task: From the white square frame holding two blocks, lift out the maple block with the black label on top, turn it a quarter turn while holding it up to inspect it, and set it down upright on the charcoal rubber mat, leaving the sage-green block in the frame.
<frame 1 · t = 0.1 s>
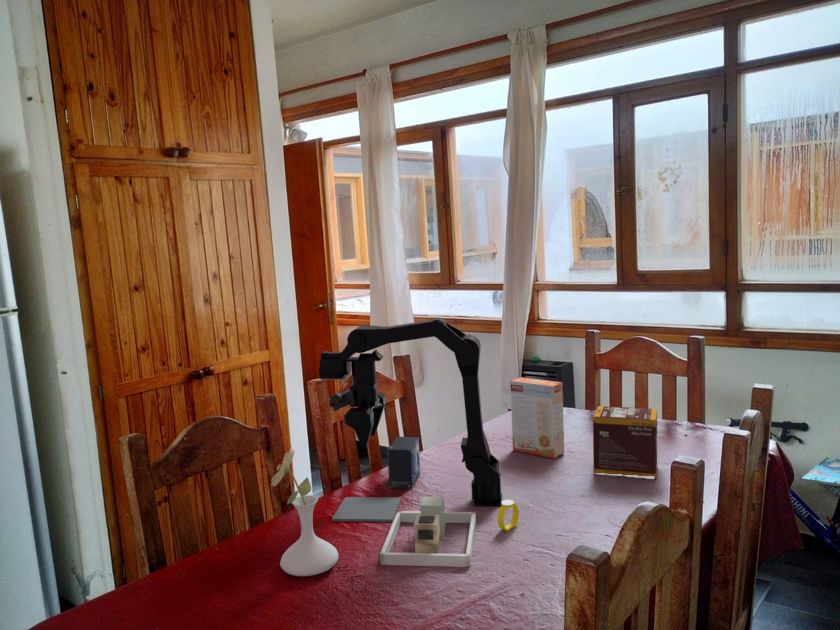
hand: (368, 442, 157), 15 cm above the table, fingers open, 9 cm apart
small box: (405, 481, 169), on the table
white square frame: (431, 541, 135), on the table
cracker box: (538, 452, 186), on the table
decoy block: (433, 532, 140), resting in white square frame
supplement box: (626, 471, 169), on the table
labelled block: (428, 552, 131), resting in white square frame
flower in vase: (307, 569, 127), on the table
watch: (508, 528, 140), on the table
mat: (367, 510, 153), on the table
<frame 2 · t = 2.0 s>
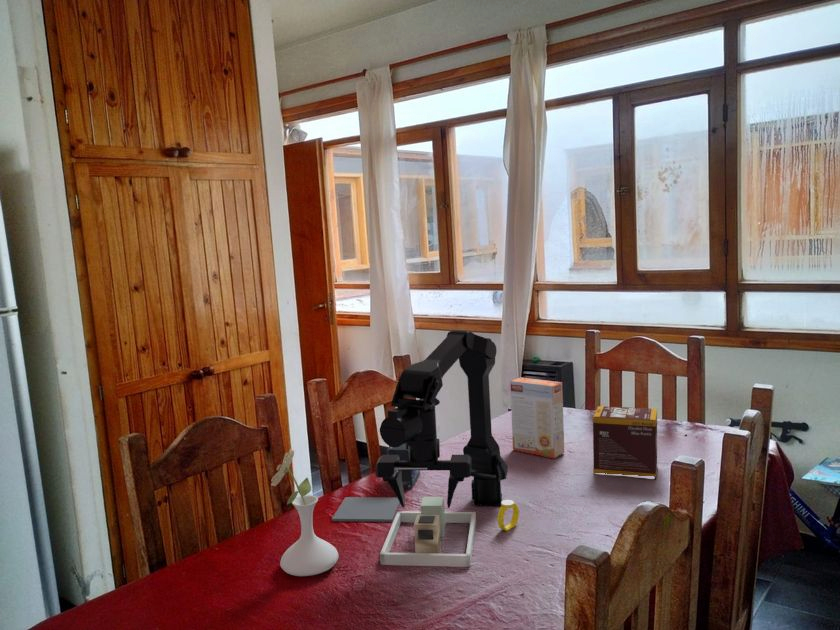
hand: (426, 506, 130), 10 cm above the table, fingers open, 9 cm apart
nothing on the table moved.
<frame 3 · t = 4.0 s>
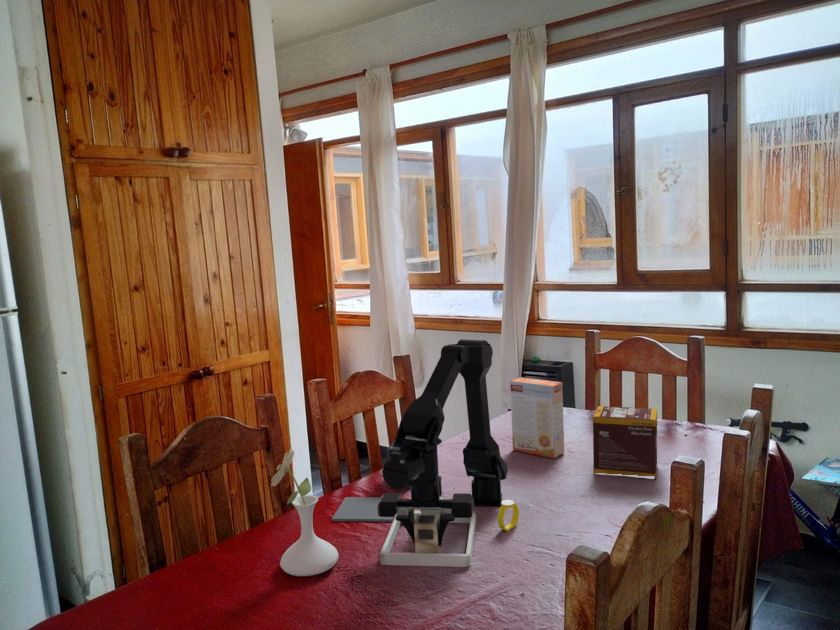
hand: (428, 545, 131), 2 cm above the table, fingers closed on labelled block, 4 cm apart
labelled block: (428, 552, 131), resting in white square frame, touching gripper
everything else where it was.
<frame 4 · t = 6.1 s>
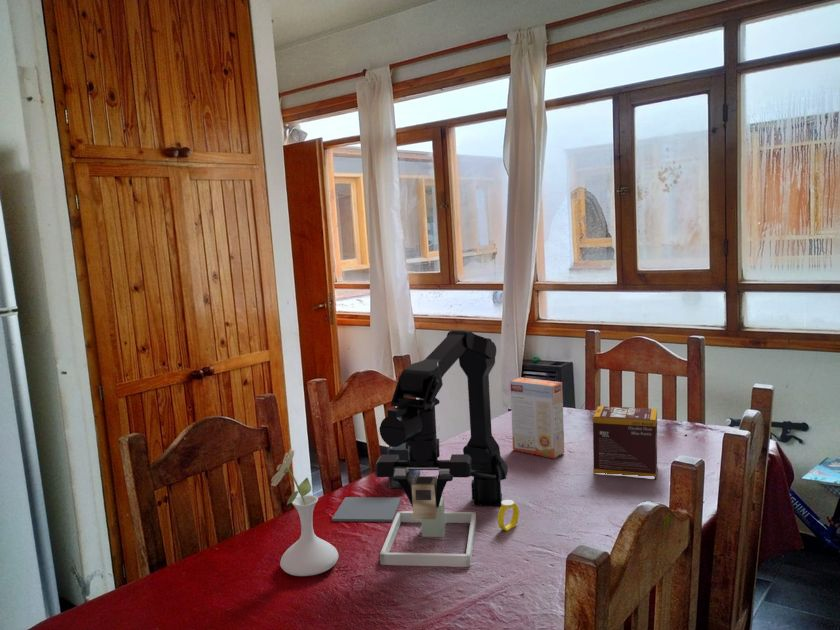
hand: (425, 506, 130), 10 cm above the table, fingers closed on labelled block, 4 cm apart
labelled block: (426, 514, 130), point 8 cm above the table, touching gripper
everything else where it was.
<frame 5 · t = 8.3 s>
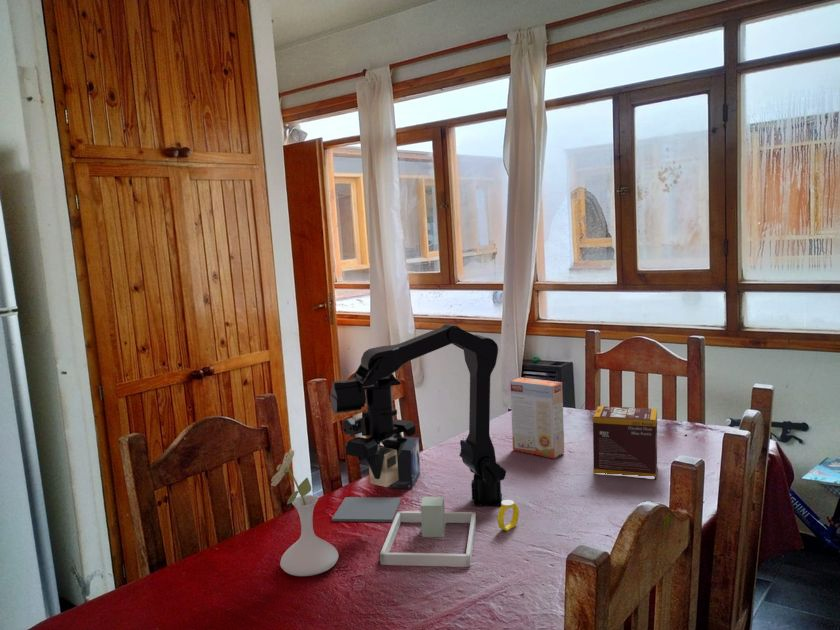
hand: (383, 475, 144), 11 cm above the table, fingers closed on labelled block, 4 cm apart
labelled block: (384, 481, 144), point 10 cm above the table, touching gripper
everything else where it was.
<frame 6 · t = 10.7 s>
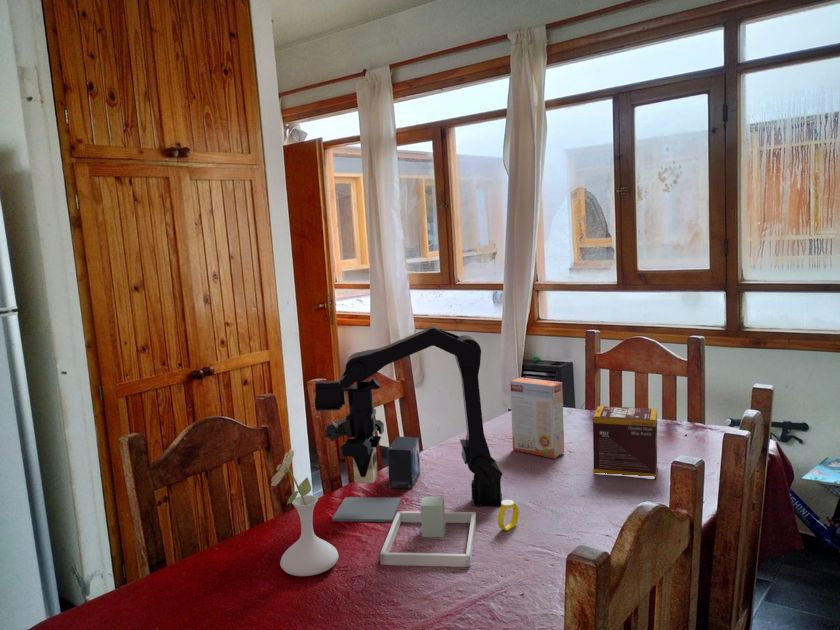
hand: (365, 472, 151), 9 cm above the table, fingers closed on labelled block, 4 cm apart
labelled block: (366, 479, 152), point 8 cm above the table, touching gripper
everything else where it was.
when the fingers open (3 cm above the table, at t = 12.6 s): labelled block drops 1 cm, resting on mat.
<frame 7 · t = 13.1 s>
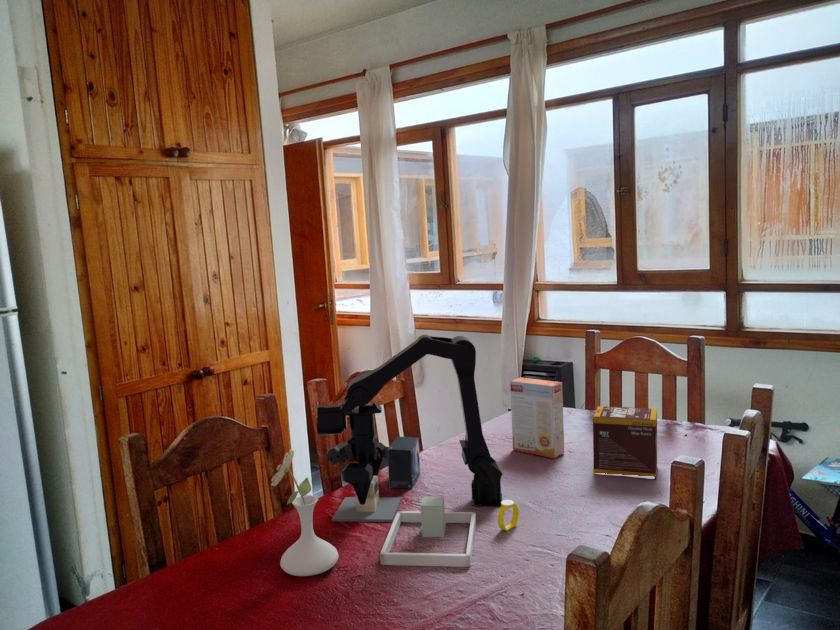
hand: (367, 496, 152), 3 cm above the table, fingers open, 9 cm apart
labelled block: (367, 507, 153), point 1 cm above the table, touching mat
everything else where it was.
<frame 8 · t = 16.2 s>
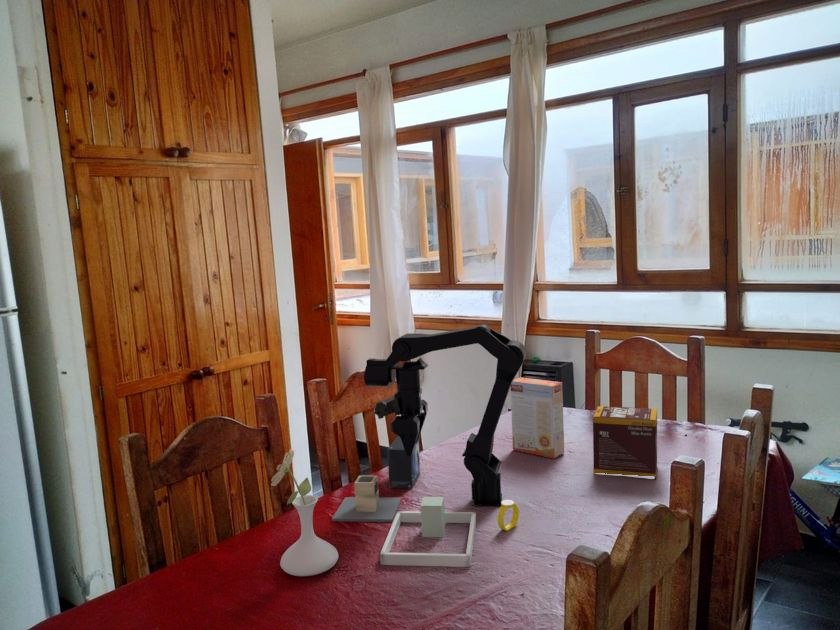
hand: (412, 449, 157), 12 cm above the table, fingers open, 9 cm apart
nothing on the table moved.
at the end: labelled block inside the target area on the mat (0.0 cm from its centre), point 0.6 cm above the mat's base; labelled block tilted 0°; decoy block moved 0.1 cm from its start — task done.
